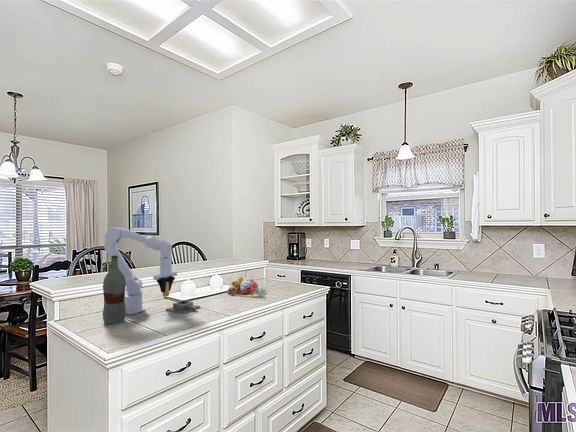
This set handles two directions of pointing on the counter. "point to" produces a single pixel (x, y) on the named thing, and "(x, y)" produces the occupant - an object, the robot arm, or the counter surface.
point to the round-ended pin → (166, 290)
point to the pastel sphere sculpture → (246, 288)
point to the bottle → (114, 294)
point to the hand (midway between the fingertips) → (165, 291)
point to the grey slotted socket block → (183, 307)
